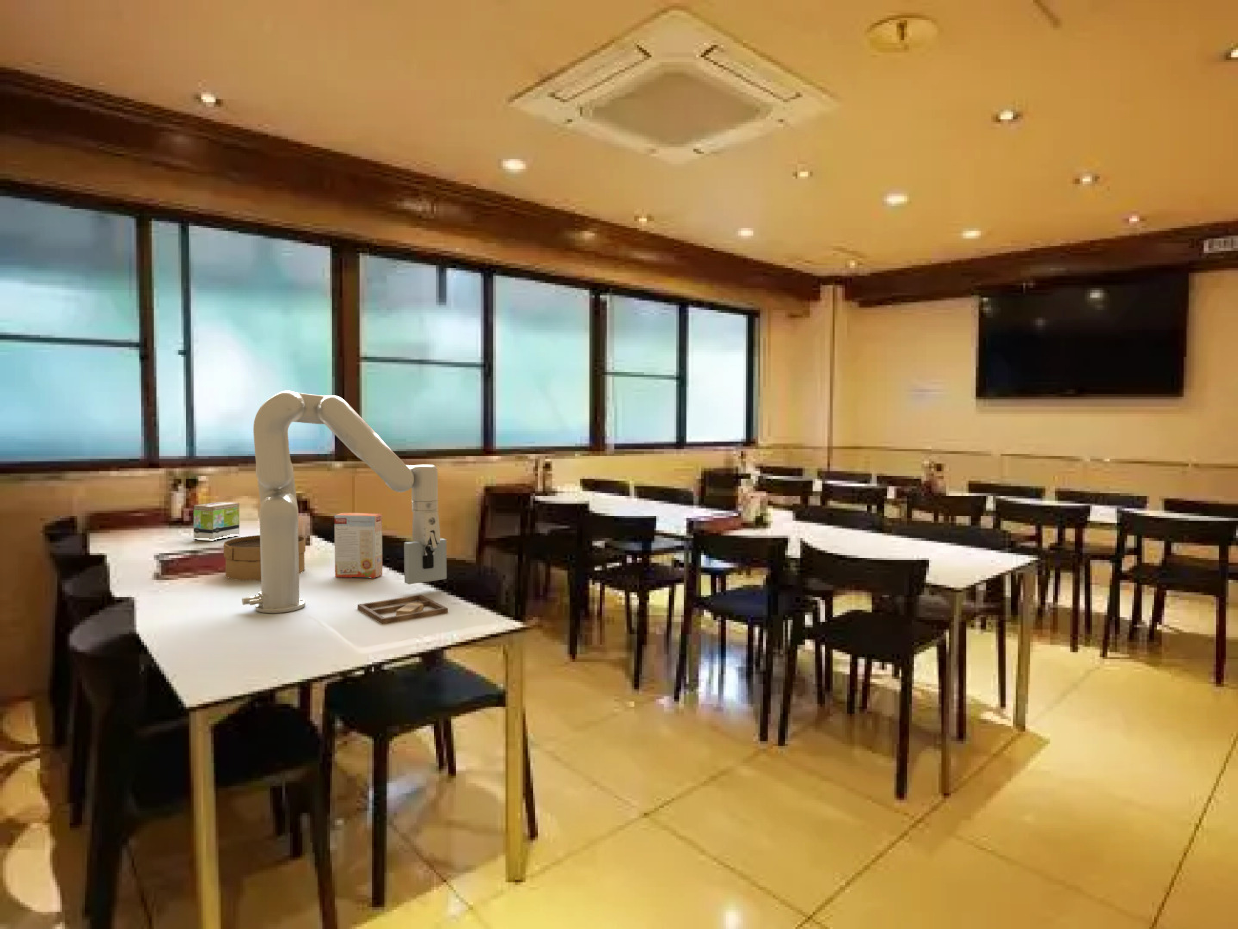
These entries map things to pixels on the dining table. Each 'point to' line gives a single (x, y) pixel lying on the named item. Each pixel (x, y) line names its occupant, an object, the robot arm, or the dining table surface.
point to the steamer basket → (250, 557)
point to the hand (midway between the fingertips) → (425, 566)
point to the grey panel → (415, 563)
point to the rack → (375, 612)
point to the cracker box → (358, 545)
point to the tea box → (216, 520)
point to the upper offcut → (410, 608)
